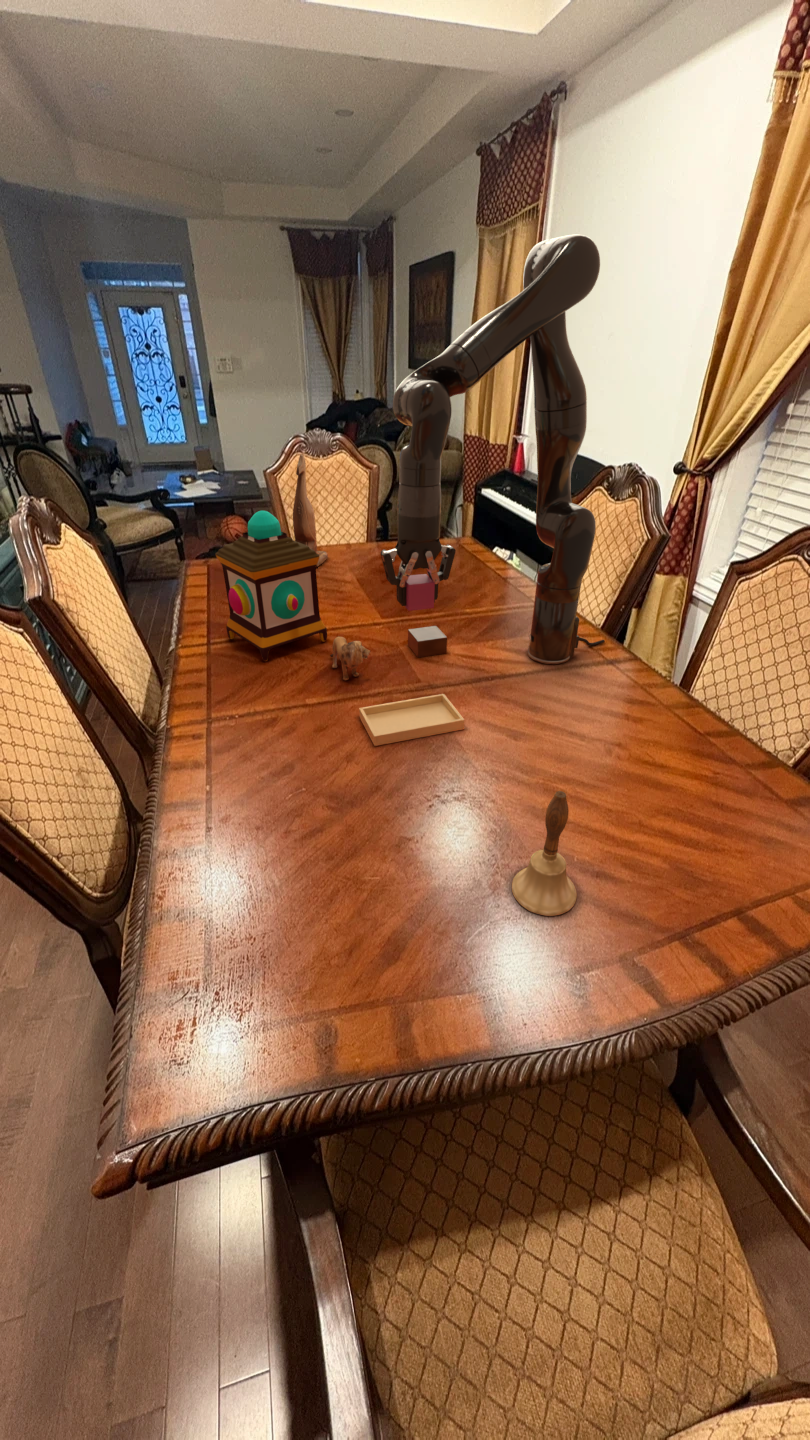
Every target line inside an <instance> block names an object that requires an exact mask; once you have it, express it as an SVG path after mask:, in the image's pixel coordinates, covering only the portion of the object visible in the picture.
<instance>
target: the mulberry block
mask: <svg viewBox="0 0 810 1440" xmlns="http://www.w3.org/2000/svg"><path fill="white" fill-rule="evenodd" d="M406 587H407V595H406V606H404V607H405V609H406V610H407V611H408V612H410V611H411V612H412V611H420V610H428V609H429V610H430V609H434V608H435V603H434V591H435V582H434V581H433V580H432V579H431V578H430V577H429V576H428V574H427V573H420V574H411V575H410V576H409V578H408V580H407V583H406Z"/></svg>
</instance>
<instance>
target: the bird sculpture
mask: <svg viewBox="0 0 810 1440" xmlns="http://www.w3.org/2000/svg"><path fill="white" fill-rule="evenodd" d="M306 464H307V462H306V458H305V455H304V454H300V455H299V457H298V461H297V464H296V472H295V474H296V476H297V479H296V487H295V495H294V500H293V501H294V502H293V507H292V527H293V535H294V541H296V542H299V543H301V544H304V545H306V546H309V548H310V549H312V550H314V551H315V552H316V553H317V554H319V555H320V557H319V561H318V563H317V566H316V568H317V567H319V566H320V565H321V564H323V563H324V562H325V561H326V560H327V559H328V558H329V557H328V553H327V551H325V550H318V544H317V543H318V542H317V528H316V527H317V526H316V517H315V516H316V515H315V510H314V506H313V505H312V502H311V501H310V499H309V497H308V489H307V471H306V469H307V465H306Z"/></svg>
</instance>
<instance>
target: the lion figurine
mask: <svg viewBox="0 0 810 1440" xmlns="http://www.w3.org/2000/svg"><path fill="white" fill-rule="evenodd" d="M370 653H371V650H370V649H368V648H366V647H365V646H364V645H363V643H362V641H360V640H353V641H350V642H348V641H347V639H346V638H345V637H344V636H336V637H335V638H334V639H333V642H332V654H330V655H329V657H331V658H332V666H331V667H332V669H337V668H338V664H337V663H338V660H337V659H338V658H339V660H340V663H341V669H342V681H349V674H348V668H349V669H352V670H351V675H352V676H353V677H357V678H358V677H359V676H360V675H359V674H360V673H359V672H357V668H358V667H359V665H361V664H362V663H363V662H364V660H367V659H368V656H370Z"/></svg>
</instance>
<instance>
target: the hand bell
mask: <svg viewBox="0 0 810 1440" xmlns="http://www.w3.org/2000/svg"><path fill="white" fill-rule="evenodd" d="M546 807H547V808H546V811H545V819H544V820H545V821H544V823H545V830H546V836H545V841H544V845H543V849H539V850H536V851H535V852H533V854H531V857H530V858H529V863H528V865H527V867H524V868H523V869H521V870H519V872H517V873H516V874H515V875H514V877H513V879H512V881H511V892H512V895H513V897H514V898H515V900H516V901H517V902H518V904H519V905H521V907H523V908H524V909H525V910H527V911H529V912H531V913H533V914H536V915H541V916H548V917H551V916H552V917H553V916H554V917H555V916H559V915H562V914H565V913H567V912H569V911H570V910H571V909H572V908H573V907H574V906H575V904H576V901H577V897H578V895H577V890H576V886H575V884H574V883H573V881H572V880H571V878H570V877H569V876H568V875H567V861H566V859H565V858H564V857H563V855H562V854H560V853H559V852H558V851H559V843H560V837H561V835H562V833H563V831H564V829H566V826H567V822H568V819H569V804H568V800H567V793H565V792H564V791H562V790H557V791H555V793H554V796H553V797H552V799H551V800H550V802H549V803H548V805H547V806H546Z"/></svg>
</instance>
